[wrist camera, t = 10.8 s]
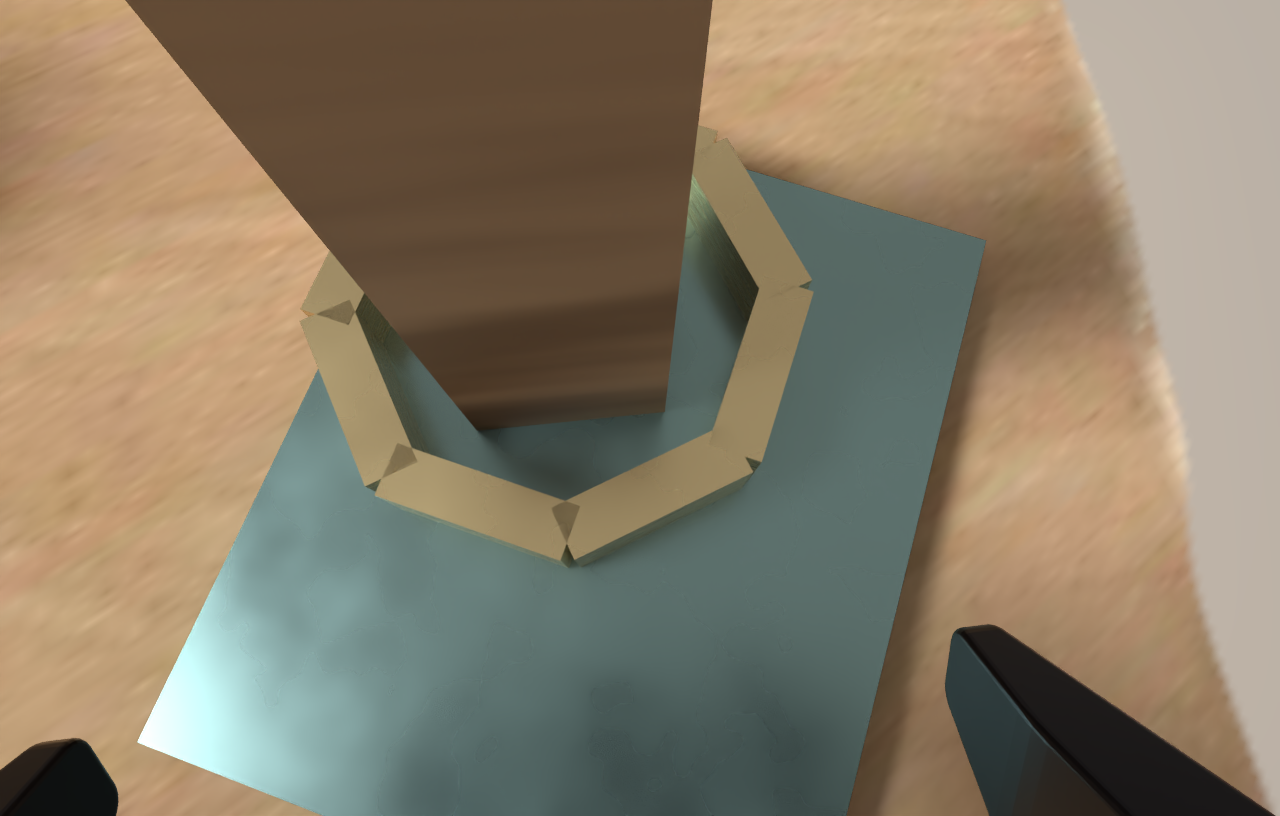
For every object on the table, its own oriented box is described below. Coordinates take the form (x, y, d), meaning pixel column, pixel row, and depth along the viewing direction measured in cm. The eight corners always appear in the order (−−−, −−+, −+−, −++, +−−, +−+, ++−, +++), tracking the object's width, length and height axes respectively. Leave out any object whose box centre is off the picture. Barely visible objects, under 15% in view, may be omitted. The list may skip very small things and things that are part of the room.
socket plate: (791, 982, 16) (823, 1057, 14) (164, 736, 18) (72, 756, 15) (970, 258, 21) (1022, 199, 18) (464, 106, 22) (438, 29, 20)
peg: (664, 412, 19) (727, -128, 5) (477, 430, 19) (65, -75, 5) (644, 243, 20) (656, -531, 7) (468, 260, 20) (118, -498, 7)
